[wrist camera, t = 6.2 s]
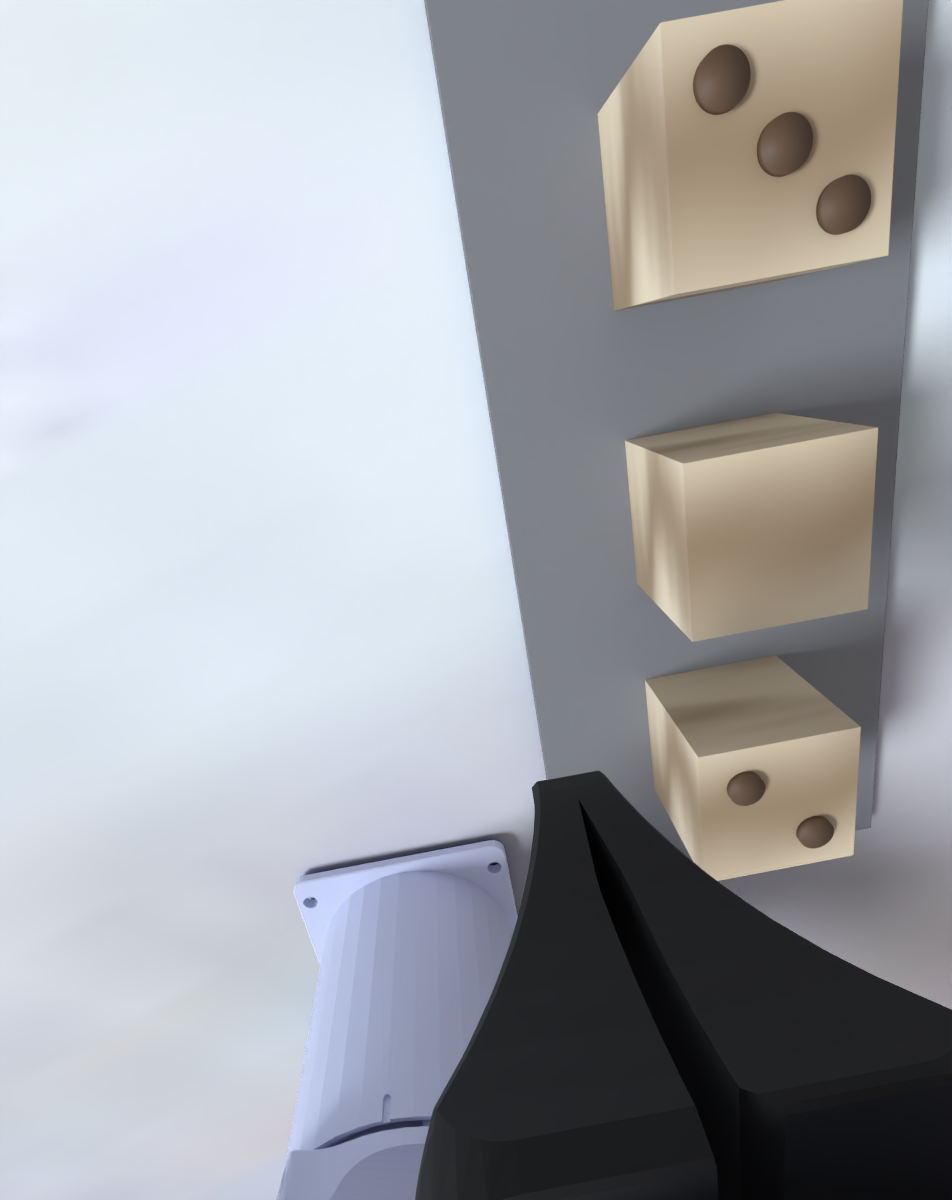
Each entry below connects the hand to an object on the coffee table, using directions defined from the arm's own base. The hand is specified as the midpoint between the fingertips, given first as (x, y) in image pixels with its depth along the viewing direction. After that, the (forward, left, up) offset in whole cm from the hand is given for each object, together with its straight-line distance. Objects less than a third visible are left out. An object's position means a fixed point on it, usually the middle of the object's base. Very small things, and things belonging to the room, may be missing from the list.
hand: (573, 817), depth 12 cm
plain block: (+3, -6, -9) cm, 11 cm away
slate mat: (+3, -6, -9) cm, 12 cm away
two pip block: (-5, -6, -9) cm, 12 cm away
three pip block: (+11, -6, -9) cm, 16 cm away
